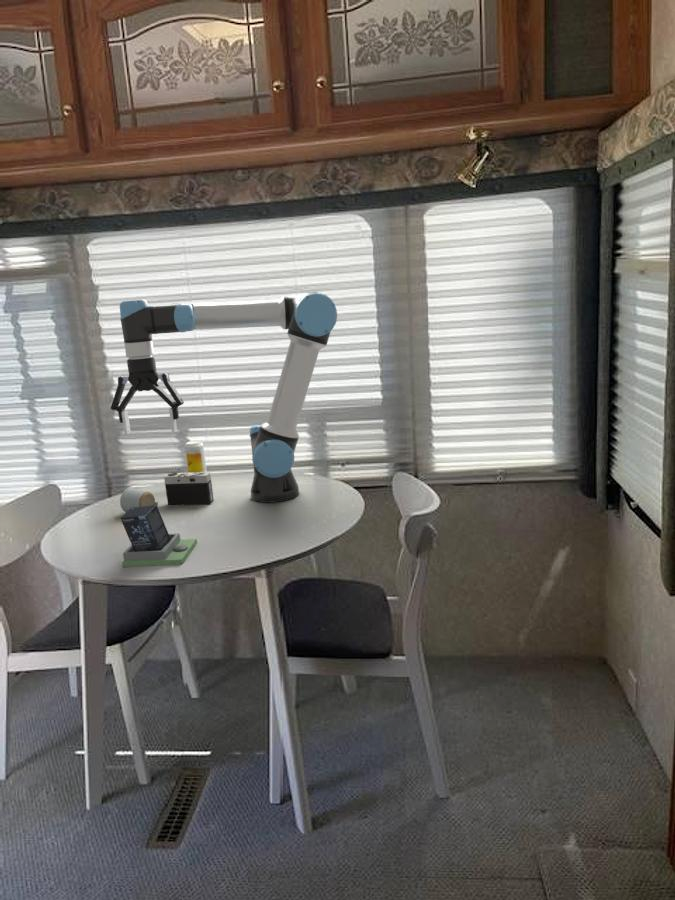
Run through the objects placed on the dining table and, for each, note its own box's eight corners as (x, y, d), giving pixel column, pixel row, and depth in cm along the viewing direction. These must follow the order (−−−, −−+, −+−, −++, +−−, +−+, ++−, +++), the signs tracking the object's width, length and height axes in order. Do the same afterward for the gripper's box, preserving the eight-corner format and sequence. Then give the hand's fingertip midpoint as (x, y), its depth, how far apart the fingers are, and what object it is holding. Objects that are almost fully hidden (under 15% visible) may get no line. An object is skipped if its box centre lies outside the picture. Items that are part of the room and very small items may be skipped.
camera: (218, 497, 223) (214, 467, 220) (209, 505, 215) (206, 474, 212) (177, 498, 225) (173, 468, 223) (167, 506, 217) (163, 475, 215)
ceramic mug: (142, 517, 207) (139, 493, 206) (121, 515, 211) (117, 491, 209) (165, 507, 217) (162, 483, 215) (144, 505, 220) (141, 482, 218)
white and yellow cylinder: (193, 482, 242) (188, 440, 238) (210, 481, 241) (205, 440, 237) (187, 487, 236) (182, 444, 232) (204, 487, 235) (199, 444, 231)
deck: (197, 542, 183) (195, 531, 182) (182, 564, 169) (180, 551, 169) (141, 545, 184) (140, 534, 183) (122, 566, 171) (121, 554, 170)
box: (134, 553, 175) (119, 517, 172) (146, 541, 180) (131, 506, 176) (160, 551, 172) (145, 515, 169) (171, 539, 177) (157, 503, 173)
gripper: (188, 352, 194) (197, 426, 199) (102, 358, 196) (113, 432, 201) (180, 355, 187) (190, 432, 192) (91, 361, 189) (103, 437, 194)
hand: (151, 432), depth 196 cm, fingers open, 13 cm apart
